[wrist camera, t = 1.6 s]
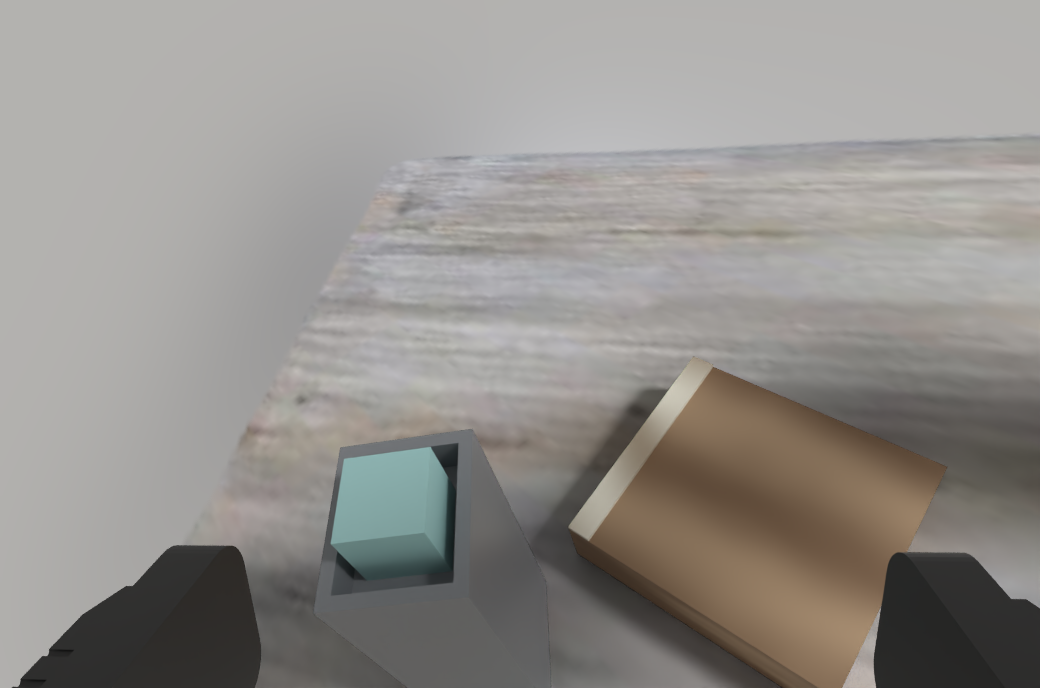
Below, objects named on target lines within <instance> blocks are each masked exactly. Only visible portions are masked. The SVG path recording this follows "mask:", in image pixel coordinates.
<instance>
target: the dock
mask: <svg viewBox="0 0 1040 688" xmlns="http://www.w3.org/2000/svg"><path fill="white" fill-rule="evenodd" d="M946 469H947V467H946V466H944V465H942V464H939V463H937V462H935V461H932V460H930V459H928V458H925V457H923V456H921V455H918V454H916V453H914V452H911V451H909V450H907V449H904V448H902V447H899V446H897V445H895V444H892V443H890V442H888V441H885V440H883V439H881V438H878V437H876V436H874V435H871V434H869V433H867V432H864V431H862V430H860V429H857V428H855V427H853V426H850V425H848V424H846V423H843V422H841V421H839V420H836V419H834V418H832V417H829V416H827V415H824V414H822V413H820V412H817V411H815V410H813V409H810V408H808V407H806V406H803V405H801V404H799V403H796V402H794V401H792V400H789V399H787V398H785V397H782V396H780V395H778V394H775V393H773V392H771V391H768V390H766V389H764V388H761V387H759V386H757V385H754V384H752V383H749V382H747V381H745V380H742V379H740V378H738V377H735V376H733V375H731V374H728V373H726V372H724V371H721V370H719V369H717V368H714V367H713V365H712V364H710V363H708V362H705V361H703V360H701V359H698V358H696V357H694V356H693V358H692V359H691V360H690V362H689V363H688V365H687V366H686V367H685V369H684V370H683V371H682V373H681V374H680V375H679V377H678V378H677V379H676V381H675V382H674V384H673V385H672V386H671V388H670V389H669V390H668V392H667V393H666V394H665V396H664V397H663V398H662V400H661V401H660V403H659V404H658V405H657V407H656V408H655V409H654V411H653V412H652V413H651V415H650V416H649V417H648V419H647V420H646V422H645V423H644V424H643V426H642V427H641V428H640V430H639V431H638V432H637V434H636V435H635V436H634V438H633V439H632V441H631V442H630V443H629V445H628V446H627V447H626V449H625V450H624V451H623V453H622V454H621V455H620V457H619V458H618V460H617V461H616V462H615V464H614V465H613V466H612V468H611V469H610V470H609V472H608V473H607V475H606V476H605V477H604V479H603V480H602V481H601V483H600V484H599V485H598V487H597V488H596V489H595V491H594V492H593V494H592V495H591V496H590V498H589V499H588V500H587V502H586V503H585V504H584V506H583V507H582V508H581V510H580V511H579V513H578V514H577V515H576V517H575V518H574V519H573V521H572V522H571V523H570V525H569V526H568V528H569V531H570V534H571V537H572V539H573V542H574V545H575V548H576V551H577V553H578V554H579V555H581V556H582V557H584V558H585V559H587V560H588V561H590V562H591V563H593V564H594V565H596V566H597V567H599V568H600V569H602V570H604V571H605V572H607V573H608V574H610V575H611V576H613V577H614V578H616V579H617V580H619V581H620V582H622V583H623V584H625V585H626V586H628V587H629V588H631V589H633V590H634V591H636V592H637V593H639V594H640V595H642V596H643V597H645V598H646V599H648V600H649V601H651V602H652V603H654V604H655V605H657V606H658V607H660V608H662V609H663V610H665V611H666V612H668V613H669V614H671V615H672V616H674V617H675V618H677V619H678V620H680V621H681V622H683V623H684V624H686V625H688V626H689V627H691V628H692V629H694V630H695V631H697V632H698V633H700V634H701V635H703V636H704V637H706V638H707V639H709V640H710V641H712V642H713V643H715V644H717V645H718V646H720V647H721V648H723V649H724V650H726V651H727V652H729V653H730V654H732V655H733V656H735V657H736V658H738V659H739V660H741V661H742V662H744V663H746V664H747V665H749V666H750V667H752V668H753V669H755V670H756V671H758V672H759V673H761V674H762V675H764V676H765V677H767V678H768V679H770V680H771V681H773V682H775V683H776V684H778V685H779V686H781V687H782V688H842V687H843V685H844V682H845V680H846V678H847V676H848V674H849V672H850V670H851V668H852V666H853V664H854V661H855V659H856V657H857V655H858V653H859V651H860V649H861V647H862V645H863V643H864V641H865V638H866V636H867V634H868V632H869V630H870V628H871V626H872V624H873V622H874V620H875V617H876V615H877V613H878V611H879V609H880V607H881V605H882V599H883V592H884V585H885V579H886V572H887V567H888V563H889V560H890V558H891V557H892V556H893V555H894V554H895V553H897V552H907V550H908V548H909V546H910V544H911V542H912V540H913V538H914V536H915V534H916V532H917V529H918V527H919V525H920V523H921V521H922V519H923V517H924V515H925V513H926V511H927V509H928V506H929V504H930V502H931V500H932V498H933V496H934V494H935V492H936V490H937V488H938V486H939V483H940V481H941V479H942V477H943V475H944V473H945V471H946Z"/></svg>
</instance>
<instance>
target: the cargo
mask: <svg viewBox="0 0 1040 688" xmlns="http://www.w3.org/2000/svg"><path fill="white" fill-rule="evenodd" d="M455 496H456V490H455V488H454V486H453V485H452V483H451V481H450V479H449V478H448V476H447V474H446V473H445V471H444V469H443V468H442V466H441V464H440V462H439V461H438V459H437V457H436V456H435V454H434V452H433V451H432V449H431V447H426V448H419V449H411V450H404V451H397V452H390V453H383V454H375V455H368V456H361V457H354V458H346V459H344V463H343V469H342V475H341V482H340V488H339V494H338V500H337V507H336V513H335V519H334V526H333V532H332V538H331V545H332V546H333V547H334V548H335V549H336V550H337V551H338V552H339V553H340V554H341V555H342V556H343V557H344V558H345V559H346V560H347V561H348V562H349V563H350V564H351V565H352V566H353V567H354V568H355V569H356V570H357V571H358V572H359V573H360V574H361V575H362V576H363V577H364V578H365V579H366V580H367V581H370V580H379V579H387V578H396V577H405V576H414V575H423V574H432V573H441V572H450V571H453V549H454V523H455Z"/></svg>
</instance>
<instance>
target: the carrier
mask: <svg viewBox="0 0 1040 688" xmlns="http://www.w3.org/2000/svg"><path fill="white" fill-rule="evenodd" d="M426 447H431V449H432V451H433V452H434V454H435V456H436V457H437V459H438V461H439V462H440V464H441V466H442V468H443V469H444V471H445V473H446V474H447V476H448V478H449V479H450V481H451V483H452V485H453V486H454V488H455V490H456V496H455V523H454V549H453V571H450V572H441V573H432V574H423V575H414V576H405V577H396V578H387V579H379V580H370V581H367V580H366V579H365V578H364V577H363V576H362V575H361V574H360V573H359V572H358V571H357V570H356V569H355V568H354V567H353V566H352V565H351V564H350V563H349V562H348V561H347V560H346V559H345V558H344V557H343V556H342V555H341V554H340V553H339V552H338V551H337V550H336V549H335V548H334V547H333V546H332V545H331V538H332V532H333V526H334V519H335V513H336V507H337V500H338V494H339V488H340V482H341V475H342V469H343V463H344V459H346V458H354V457H361V456H368V455H375V454H383V453H390V452H397V451H404V450H411V449H419V448H426ZM313 614H314V615H315V616H317V617H318V618H319V619H320V620H322V621H323V622H324V623H325V624H327V625H328V626H329V627H331V628H332V629H333V630H334V631H336V632H337V633H338V634H339V635H341V636H342V637H343V638H345V639H346V640H347V641H348V642H350V643H351V644H352V645H353V646H355V647H356V648H357V649H359V650H360V651H361V652H362V653H364V654H365V655H366V656H367V657H369V658H370V659H371V660H373V661H374V662H375V663H376V664H378V665H379V666H380V667H381V668H383V669H384V670H385V671H386V672H388V673H389V674H390V675H392V676H393V677H394V678H395V679H397V680H398V681H399V682H400V683H402V684H403V685H404V686H406V687H407V688H551V670H550V651H549V631H548V611H547V592H546V580H545V578H544V576H543V574H542V572H541V570H540V568H539V566H538V564H537V562H536V560H535V557H534V555H533V553H532V551H531V549H530V547H529V545H528V543H527V541H526V539H525V537H524V535H523V533H522V530H521V528H520V526H519V524H518V522H517V520H516V518H515V516H514V514H513V512H512V510H511V508H510V506H509V503H508V501H507V499H506V497H505V495H504V493H503V491H502V489H501V487H500V485H499V483H498V481H497V479H496V477H495V474H494V472H493V470H492V468H491V466H490V464H489V462H488V460H487V458H486V456H485V454H484V452H483V450H482V447H481V445H480V443H479V441H478V439H477V437H476V435H475V433H474V431H473V429H468V430H461V431H454V432H447V433H440V434H433V435H425V436H418V437H411V438H404V439H397V440H390V441H383V442H376V443H369V444H362V445H355V446H348V447H341V448H340V452H339V458H338V464H337V470H336V477H335V483H334V489H333V495H332V501H331V507H330V513H329V519H328V525H327V531H326V537H325V543H324V549H323V555H322V561H321V567H320V573H319V579H318V586H317V592H316V598H315V604H314V610H313Z"/></svg>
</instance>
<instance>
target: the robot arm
mask: <svg viewBox="0 0 1040 688" xmlns="http://www.w3.org/2000/svg"><path fill="white" fill-rule="evenodd" d="M260 661H261V644H260V638H259V633H258V628H257V623H256V618H255V613H254V608H253V604H252V599H251V594H250V589H249V584H248V579H247V574H246V570H245V565H244V561H243V557H242V555H241V553H240V551H239V550H238V549H237V548H236V547H234V546H187V545H176V546H172V547H170V548H169V549H167V550H166V551H165V552H164V553H163V554H162V555H161V556H160V557H159V558H158V560H157V561H156V562H155V563H154V564H153V565H152V566H151V567H150V568H149V569H148V570H147V571H146V573H145V574H144V575H143V576H142V577H141V578H140V579H139V580H138V581H137V582H136V583H135V584H134V585H133V586H126V587H124V588H123V589H121V590H119V591H118V592H117V593H115V594H113V595H112V596H110V597H109V598H107V599H106V600H104V601H103V602H101V603H100V604H98V605H97V606H95V607H94V608H92V609H91V610H89V611H88V612H86V613H84V614H83V615H82V616H81V617H80V618H79V619H78V620H77V621H76V622H75V623H74V624H73V625H72V626H71V627H70V628H69V629H68V630H67V631H66V632H65V633H64V634H63V636H61V638H60V639H59V640H58V641H57V642H56V643H55V644H54V645H53V646H52V647H51V648H50V649H49V654H48V656H42V657H41V658H40V659H39V660H38V661H37V662H36V663H35V664H34V666H32V668H31V669H30V670H29V671H28V672H27V673H26V674H25V675H24V676H23V677H22V678H21V682H20V685H19V686H18V687H12V688H255V685H256V682H257V678H258V674H259V668H260ZM874 675H875V682H876V688H1040V608H1038V607H1037V606H1035V605H1034V604H1032V603H1031V602H1029V601H1028V600H1026V599H1010V597H1009V596H1008V595H1007V594H1006V593H1005V592H1004V591H1003V589H1002V588H1001V587H1000V586H999V585H998V584H997V583H996V581H995V580H994V579H993V578H992V577H991V576H990V575H989V574H988V572H987V571H986V570H985V569H984V568H983V567H982V566H981V564H980V563H979V562H978V561H977V560H976V559H975V558H974V557H972V556H971V555H969V554H967V553H926V552H897V553H895V554H894V555H893V556H892V557H891V558H890V560H889V563H888V567H887V572H886V579H885V585H884V592H883V599H882V606H881V612H880V619H879V626H878V632H877V639H876V646H875V653H874Z"/></svg>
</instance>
